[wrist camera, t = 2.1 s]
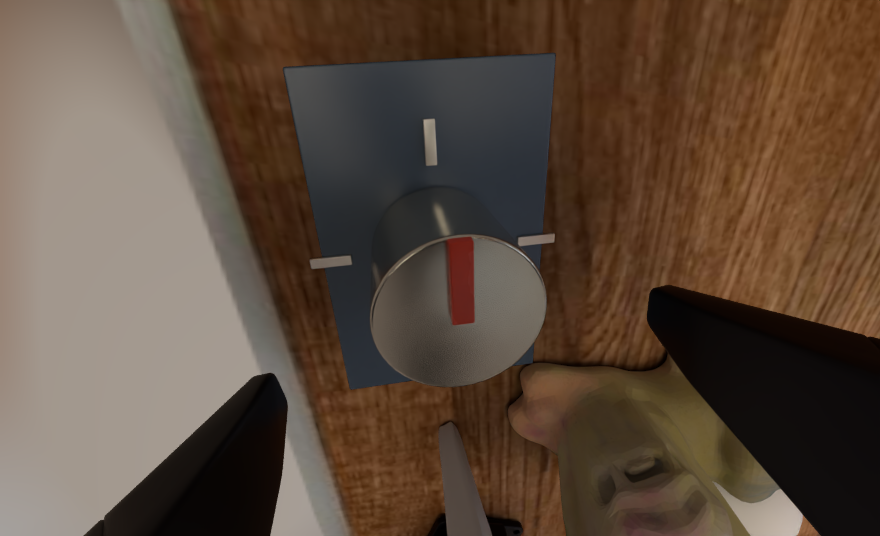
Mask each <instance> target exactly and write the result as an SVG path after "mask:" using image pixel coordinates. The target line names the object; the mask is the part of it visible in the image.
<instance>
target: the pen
mask: <svg viewBox="0 0 880 536" xmlns="http://www.w3.org/2000/svg"><path fill="white" fill-rule="evenodd" d="M439 449H440V458H441V468H442V478H443V488H444V500H445V512H446V524H447V536H492V533H491V530H490V527H489V524H488V521H487V518H486V515H485V512H484V509H483V506H482V503H481V500H480V497H479V493H478V490H477V487H476V484H475V481H474V478H473V475H472V472H471V469H470V466H469V463H468V459H467V455H466V452H465V449H464V446H463V443H462V439H461V436H460V434H459V432H458V429H457V427H456V426H455V425H454V424H453V423H452V422H449V423H447V424H445V425H444V426H440V428H439Z"/></svg>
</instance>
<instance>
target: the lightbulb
mask: <svg viewBox="0 0 880 536" xmlns="http://www.w3.org/2000/svg"><path fill="white" fill-rule="evenodd" d="M712 482H713V483H714V485H715V486H716V487H717V489H718V490H719V491H720V493H721V494H722V495H723V497H724V498H725V500H726V501H727V503H728V504H729V506H730V507H731V508H732V510H733V511H734V513H735V514H736V516H737V517H738V518H739V520H740V521H741V523H742V524H743V526H744V527H745V528H746V530H747V531H748V533H749V534H750V536H797V534H798V532H799V529H800V526H801V523H802V517H803V514H802V513H801V512H800V511H799V510H798V508H797V507H796V506H795V505H794V504H793V503H792V501H791V500H790V499H789V498H788V497H787V496H786V494H785V493H784V492H783V491H782V490H781V489H779V490H776V491H775V492H774V493H773V494H772V495H771V496H770V497H769V498H767V499H765V500H763V501H761V502H756V503H747V502H742V501H740V500H739V499H737V498H735V497H734V496H732V495H731V494H729V493H728V492H727V491H726V490H725V489H724V488H723V487H721V486H720V485H719V484H718V483H716V482H714V481H712Z"/></svg>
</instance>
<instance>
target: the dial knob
mask: <svg viewBox="0 0 880 536" xmlns="http://www.w3.org/2000/svg"><path fill="white" fill-rule="evenodd" d="M546 308H547V295H546V288H545V284H544V281H543V277H542V275H541V273H540V271H539V269H538V268H537V266H536V265H535V263H534V262H533V261H532V259H531V258H530V257H529V256H528V255H527V254H526V252H525V251H524V250H523V249H522V248H521V247H520V246H519V244H518V243H517V242H516V241H515V240H514V239H513V238H512V236H511V235H510V234H509V233H508V232H507V231H506V230H505V228H504V227H503V226H502V225H501V224H500V223H499V221H498V220H497V219H496V218H495V217H494V216H493V215H492V213H491V212H490V211H489V210H488V209H487V208H486V207H485V206H484V205H483V204H482V203H481V202H480V201H479V200H478V199H476V198H475V197H473V196H472V195H470V194H468V193H466V192H463V191H461V190H458V189H454V188H448V187H430V188H424V189H421V190H417V191H414V192H412V193H410V194H407V195H406V196H404V197H402V198H401V199H399V200H398V201H396V202H395V203H394V204H393V205H392V206H391V207H390V208H389V209H388V210H387V211H386V212H385V213H384V215H383V216H382V217H381V219H380V221H379V223H378V224H377V226H376V229H375V232H374V235H373V239H372V248H371V282H370V330H371V334H372V338H373V341H374V343H375V345H376V348H377V349H378V351H379V352H380V354H381V356H382V357H383V358H384V359H385V360H386V362H387V363H388V364H389V365H390V366H391V367H392V368H393V369H395V370H396V371H397V372H399V373H400V374H402V375H403V376H405V377H407V378H409V379H411V380H413V381H416V382H419V383H422V384H426V385H430V386H437V387H459V386H466V385H471V384H475V383H479V382H482V381H485V380H487V379H490V378H492V377H494V376H496V375H498V374H500V373H502V372H504V371H505V370H507V369H508V368H510V367H511V366H512V365H514V364H515V363H516V362H517V361H518V360H520V359H521V358H522V356H523V355H524V354H525V353H526V352H527V351H528V350H529V349H530V347H531V346H532V345H533V343H534V342H535V340H536V338H537V337H538V335H539V333H540V331H541V328H542V326H543V323H544V319H545V315H546Z"/></svg>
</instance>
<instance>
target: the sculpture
mask: <svg viewBox="0 0 880 536" xmlns="http://www.w3.org/2000/svg"><path fill="white" fill-rule="evenodd" d="M520 381H521V386H522V390H523V394H522V395H521V396H520V397H519V398H518V399H517V401H515V402H514V403H513V404H512V405H510V406H509V409H508V417H509V421H510V424H511V426H512V427H513V429H514V430H515V431H516V432H517V433H518V434H519V435H520V436H522V437H524V438H526V439H528V440H530V441H532V442H535V443H538V444H541V445H543V446H545V447H547V448H548V449H550V450H551V451H552V452H554V453H555V454H556V455H558V462H559V474H560V487H561V501H562V510H563V519H564V523H565V528H566V536H750V534H749V533H748V531H747V530H746V528H745V527H744V526H743V524H742V523H741V521H740V520H739V518H738V517H737V516H736V514H735V513H734V511H733V510H732V508H731V507H730V506H729V504H728V503H727V501H726V500H725V498H724V497H723V495H722V494H721V493H720V491H719V490H718V489H717V487H716V486H715V485H714V483H713V482H712V481H714V482H716V483H718V484H719V485H720V486H721V487H723V488H724V489H725V490H726V491H727V492H728V493H729V494H731V495H732V496H734V497H735V498H737V499H739V500H740V501H742V502H747V503H756V502H761V501H763V500H765V499H767V498H769V497H770V496H771V495H772V494H773V493H774V492H775V491H776V490H779V489H780V487H779V486H778V485H777V484H776V483H775V482H774V481H773V479H772V478H771V477H770V476H769V475H768V474H767V472H766V471H765V470H764V469H763V468H762V467H761V465H760V464H759V463H758V462H757V461H756V460H755V458H754V457H753V456H752V455H751V454H750V453H749V451H748V450H747V449H746V448H745V447H744V446H743V444H742V443H741V442H740V441H739V440H738V439H737V437H736V436H735V435H734V434H733V433H732V432H731V430H730V429H729V428H728V427H727V426H726V425H725V423H724V422H723V421H722V420H721V419H720V418H719V416H718V415H717V414H716V413H715V412H714V411H713V409H712V408H711V407H710V406H709V405H708V404H707V402H706V401H705V400H704V399H703V398H702V397H701V395H700V394H699V393H698V392H697V391H696V390H695V388H694V387H693V386H692V385H691V384H690V382H689V381H688V380H687V379H686V377H685V376H684V375H683V373H682V372H681V371H680V369H679V368H678V367H677V365H676V364H675V362H674V361H673V359H672V358H671V357H670V355H669V354H668V355H667V359H666V361H665V362H664V363H663V364H662V365H661V366H660V367H658V368H656V369H653V370H649V371H625V370H622V369H619V368H614V367H608V366H591V367H571V366H563V365H557V364H551V363H534V364H531V365H528V366H527V367H525V368H524V369H523V370H522V371H521V373H520Z"/></svg>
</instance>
